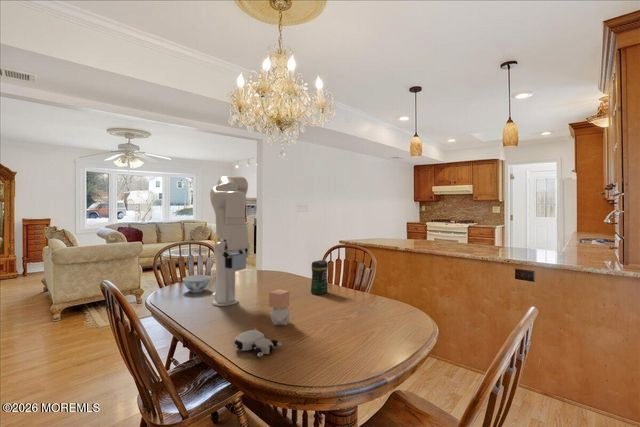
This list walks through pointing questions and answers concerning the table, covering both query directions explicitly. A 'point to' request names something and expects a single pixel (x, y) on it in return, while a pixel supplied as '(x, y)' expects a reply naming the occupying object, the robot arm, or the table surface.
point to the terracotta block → (278, 299)
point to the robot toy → (255, 342)
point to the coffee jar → (319, 277)
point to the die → (280, 316)
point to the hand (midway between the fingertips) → (235, 266)
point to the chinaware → (196, 282)
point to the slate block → (237, 262)
